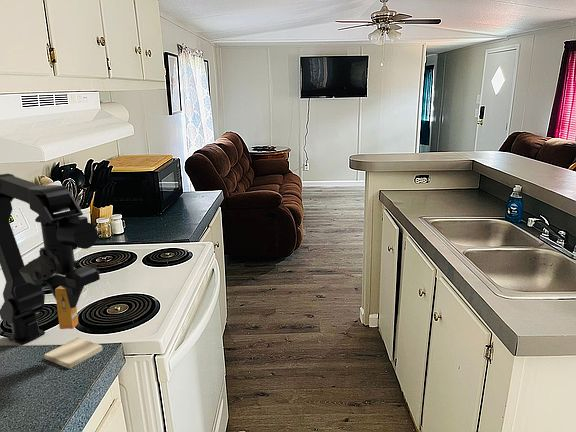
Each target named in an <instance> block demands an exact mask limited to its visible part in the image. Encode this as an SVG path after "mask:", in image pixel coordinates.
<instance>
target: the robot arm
mask: <svg viewBox="0 0 576 432" xmlns="http://www.w3.org/2000/svg"><path fill="white" fill-rule="evenodd" d="M14 199H16V200H18V201H21V202H24V203H25V204H28V205H29V209H30V210H31V211H32V212H34V213H36V214H37V215H38V216H36V218H35V219H34V220H35V221H34V222H36V223H40V229H41V233H42V234H41V235H42V241H43V247H40V250H39V251H38V252H39V256H38V257H36V258H33V260H31V261H28V263H26V264H25V263H24V260H23V257H22V254H21V252H20V249H19V246H18V243H17V240H16V237H15V234H14V232H13V227H12V225H11V223H10V219H11V216H12V212H13V206H12V205H13V204H12V202H13V200H14ZM81 208H82V207H81V206H80V205H79V204H78V202H77V201H76V199H75V198H74V196H73V194H72V193H71V191H70V190H69V189H68V188H67V187H66V186H65V185H59V184H49V185H48V184H47V185H46V184H45V185H40V184H38V183H35V182H32V181H30V180H26V179H23V178H21V177H18V176H15V175H14V174H13V173H12V174H11V173H2V174H0V267H1V270H2V274H3V277H4V279H5V285H4V288H3V291H2V296H3V297H2V298H3V300H4V301H3V304H2V305H1V307H0V319H1V320H2V321H4V322H8V323H11V330H12V334H10V335H8V336H7V340H9V341H12V342H15V343H17V344H19V345H23V344H26V343H28V342H30V341H32V340H34V339H36V338H38V337H40V336H42V335H45V334H46V331H45V330H43V329H40V328H39V323H38V317H37V314H36V313H39V312H41V311H42V312H43V311H44V310H45V309H44V308H45V300H46V298H45V297H46V294H45V292H44V290H43V288H42V285H41V284H42V283H44V284H46V285H47V287H48V288H49V290H50V292H51V294H52V295H53V297H54V299H55V300H56V295H55V289H56V288H57V287H59V286H61V287H63V288H65V289H66V293H67V297H68V301H69V304H70V307H71V308H74V307H77V305H78V302H79V299H80V297H81V295H82V292H83V289H84V288H85V286H87V285H89V284H92V283H95V282H98V281H100V280H101V276H100V271H99V270H98V269H97V268H94V267H91V266H86V265H84V266H82V267H79V266H80V261H79V260H75V254H74V250H77V249H81V250H82V249H83V250H85V249H90V248H92V247H93V246H94V245H95V244H96V242H97V240H98V235H99V234H98V233H99V232H98V229H97V228H96V226H95V225H94V224H93V223H91V222H89V219H88V217H87V216H84V213H83V212H82V210H81ZM77 267H78V268H77Z"/></svg>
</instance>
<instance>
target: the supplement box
mask: <svg viewBox="0 0 576 432" xmlns="http://www.w3.org/2000/svg"><path fill="white" fill-rule="evenodd" d="M55 295H56V299H55V301H56V308H57V317H58V325H59V329H60V330H67V329H68V330H73V329H75V328H76V327H77V325H78V324H79V315H78V308H77V306H76V307H74V308H71V307H70V304H69V301H68V297H67V293H66V289H65V288H63V287H61V286H59V287H57V288H56V289H55Z"/></svg>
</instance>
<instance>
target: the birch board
mask: <svg viewBox="0 0 576 432" xmlns="http://www.w3.org/2000/svg"><path fill="white" fill-rule="evenodd" d="M103 350H104V349H103V345H101V344H98V343H96V342H92V341H91V340H90V341H89V340H87V339H84V338H81V337H79V336H78V337H76V338H74V339H72V340H69V341H68V342H66V343H64V344H61V345H60V346H58V347H56V348H55V349H52V350H51V351H48V352H46V353H44V359H45V360H47V361H50V362H52V363H54V364H56V365H60V366H62V367H64V368H66V369H72V368H74V367H76V366H77V365H79V364H81V363H83V362H85V361H86V360H88V359H90V358H91V357H93V356H95V355H97V354H99V353H100V352H102V351H103Z"/></svg>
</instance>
